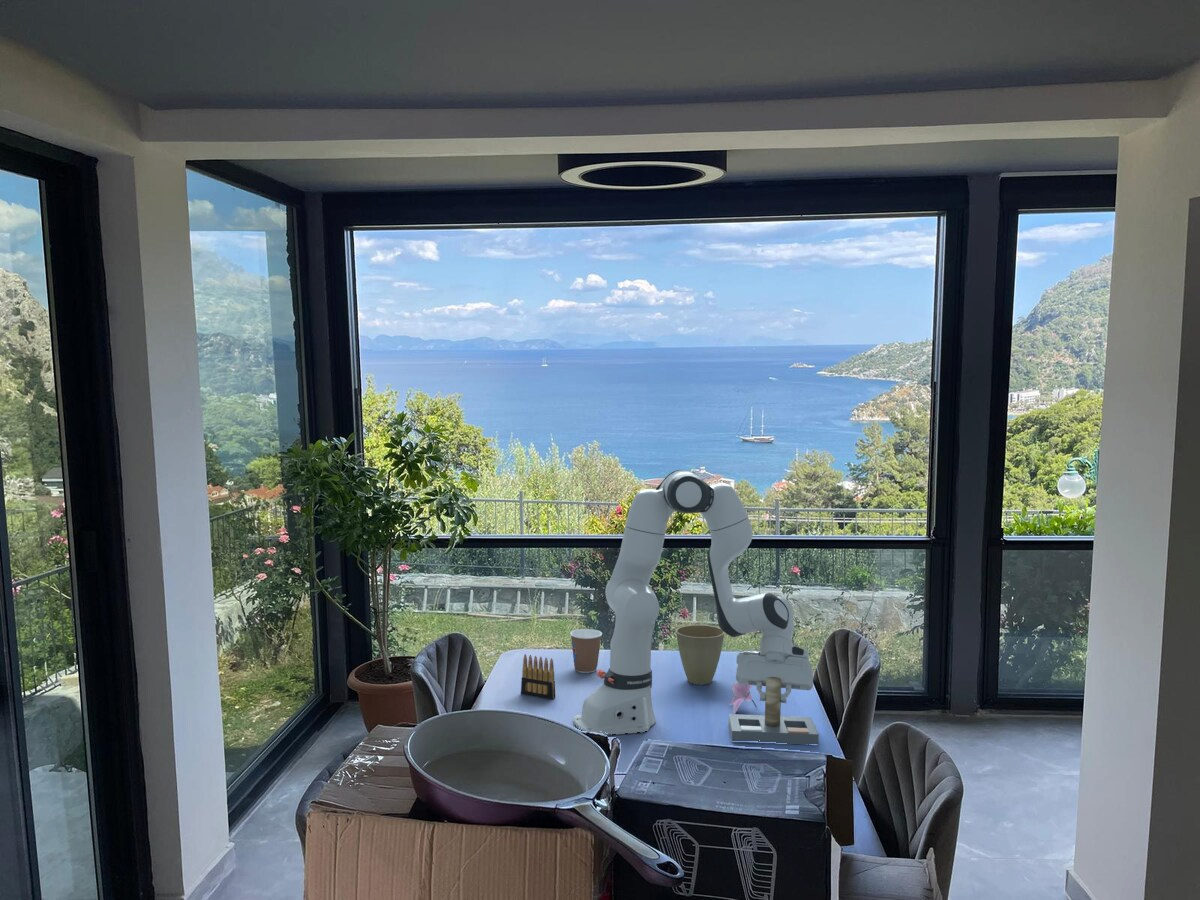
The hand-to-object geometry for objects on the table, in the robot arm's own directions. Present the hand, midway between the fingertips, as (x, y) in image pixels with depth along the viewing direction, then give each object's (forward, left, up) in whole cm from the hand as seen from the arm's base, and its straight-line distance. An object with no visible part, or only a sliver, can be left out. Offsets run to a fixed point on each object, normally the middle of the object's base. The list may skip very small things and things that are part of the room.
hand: (772, 701), depth 233 cm
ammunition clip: (-46, +52, -10) cm, 70 cm away
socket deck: (0, 0, -9) cm, 9 cm away
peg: (0, 0, -6) cm, 6 cm away
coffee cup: (-23, +69, -10) cm, 74 cm away
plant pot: (+5, +45, -10) cm, 47 cm away
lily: (+5, +20, -10) cm, 23 cm away
